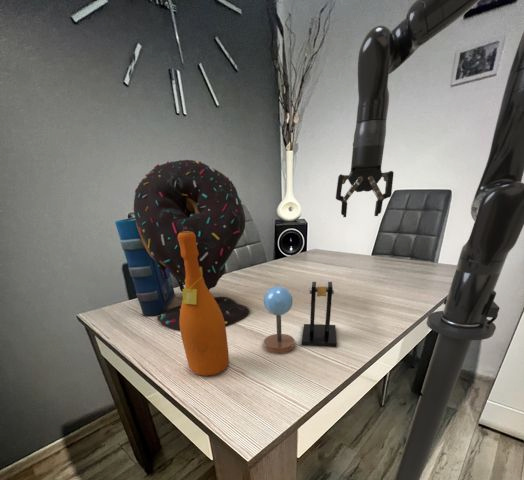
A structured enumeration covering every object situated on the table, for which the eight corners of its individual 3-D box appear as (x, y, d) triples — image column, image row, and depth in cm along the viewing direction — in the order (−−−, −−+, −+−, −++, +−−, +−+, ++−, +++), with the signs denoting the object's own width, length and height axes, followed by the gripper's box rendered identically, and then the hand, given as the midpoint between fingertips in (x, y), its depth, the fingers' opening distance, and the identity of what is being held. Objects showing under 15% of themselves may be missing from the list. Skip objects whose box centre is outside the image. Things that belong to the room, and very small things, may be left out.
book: (166, 315, 95) (141, 219, 80) (140, 317, 94) (111, 221, 80) (178, 293, 116) (160, 214, 101) (157, 295, 115) (136, 216, 101)
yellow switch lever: (311, 293, 82) (312, 285, 82) (330, 293, 81) (331, 285, 80) (310, 296, 69) (310, 286, 68) (332, 296, 68) (333, 286, 67)
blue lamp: (297, 340, 74) (298, 282, 66) (289, 355, 68) (289, 293, 60) (270, 337, 77) (267, 281, 69) (259, 351, 71) (255, 291, 62)
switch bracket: (304, 327, 81) (305, 278, 74) (335, 328, 80) (339, 278, 72) (301, 345, 72) (302, 291, 65) (336, 347, 70) (341, 291, 63)
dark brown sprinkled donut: (262, 319, 88) (253, 147, 65) (157, 339, 80) (105, 149, 57) (239, 293, 113) (226, 161, 90) (157, 305, 104) (120, 164, 82)
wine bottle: (183, 364, 67) (151, 232, 52) (218, 351, 71) (199, 226, 56) (199, 383, 60) (168, 237, 45) (237, 367, 64) (221, 230, 49)
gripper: (340, 146, 67) (334, 218, 75) (402, 140, 65) (389, 216, 73) (338, 150, 74) (334, 216, 82) (395, 145, 71) (384, 214, 79)
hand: (360, 216), depth 77 cm, fingers open, 8 cm apart
